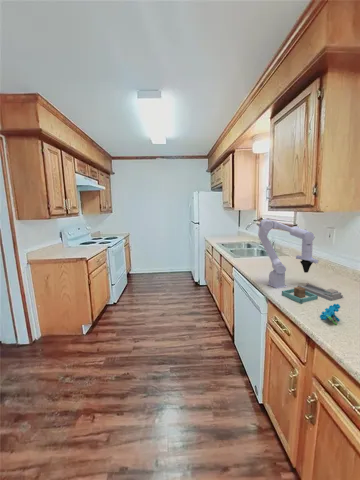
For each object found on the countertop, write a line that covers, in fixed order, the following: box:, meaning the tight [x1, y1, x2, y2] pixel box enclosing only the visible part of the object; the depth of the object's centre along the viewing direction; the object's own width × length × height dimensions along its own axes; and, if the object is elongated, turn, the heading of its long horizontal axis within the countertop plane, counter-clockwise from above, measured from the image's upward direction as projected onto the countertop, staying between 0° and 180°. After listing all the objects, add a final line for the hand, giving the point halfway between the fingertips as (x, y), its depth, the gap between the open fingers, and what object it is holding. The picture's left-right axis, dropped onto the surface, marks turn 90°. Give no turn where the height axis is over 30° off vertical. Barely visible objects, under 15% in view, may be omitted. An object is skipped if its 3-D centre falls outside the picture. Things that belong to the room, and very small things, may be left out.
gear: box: [319, 303, 341, 326], centre depth 106 cm, size 11×6×10 cm
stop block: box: [293, 286, 306, 299], centre depth 132 cm, size 4×4×5 cm
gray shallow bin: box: [297, 282, 344, 302], centre depth 136 cm, size 22×10×4 cm, turn 20°
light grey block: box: [324, 288, 339, 297], centre depth 129 cm, size 4×5×4 cm
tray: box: [281, 288, 319, 305], centre depth 132 cm, size 14×12×2 cm
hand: (306, 272), depth 147 cm, fingers closed
